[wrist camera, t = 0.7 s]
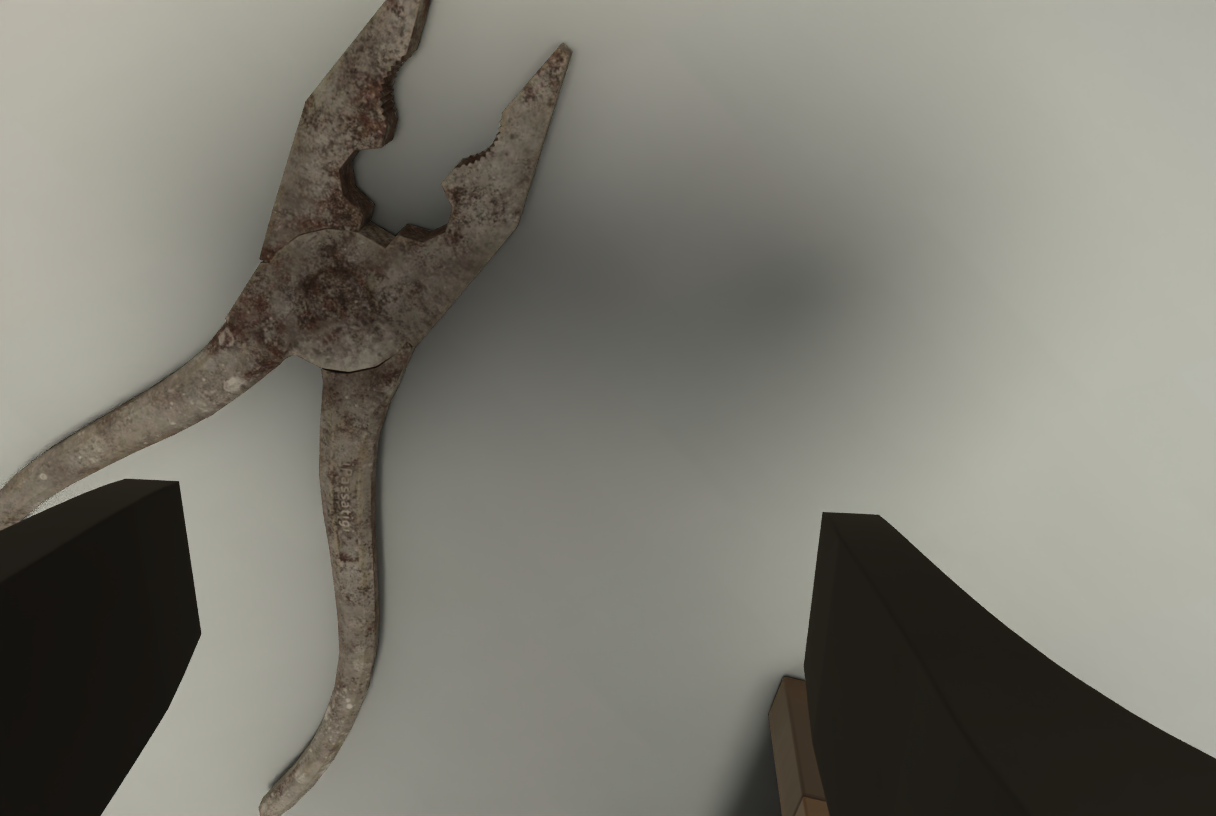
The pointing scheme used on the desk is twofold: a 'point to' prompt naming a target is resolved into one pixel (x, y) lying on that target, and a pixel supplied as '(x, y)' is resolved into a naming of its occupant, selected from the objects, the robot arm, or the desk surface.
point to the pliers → (334, 326)
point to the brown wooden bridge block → (795, 752)
